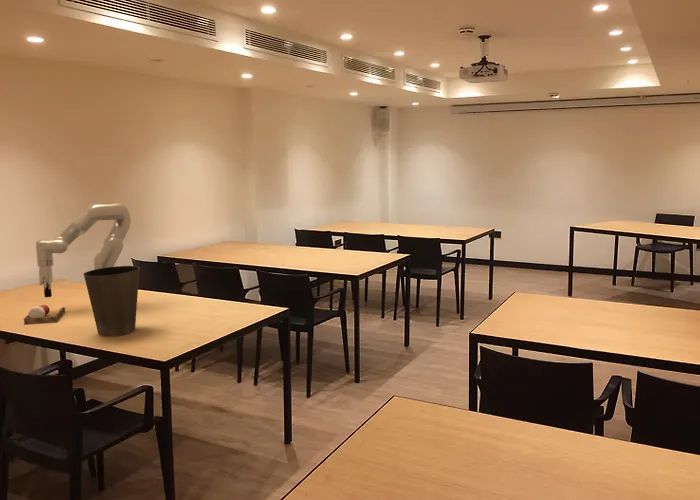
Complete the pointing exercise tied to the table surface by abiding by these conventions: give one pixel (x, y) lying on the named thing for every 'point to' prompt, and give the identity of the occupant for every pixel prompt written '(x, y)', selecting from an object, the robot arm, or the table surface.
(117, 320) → the waste basket
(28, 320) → the u rest
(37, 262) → the robot arm
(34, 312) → the paper cup
